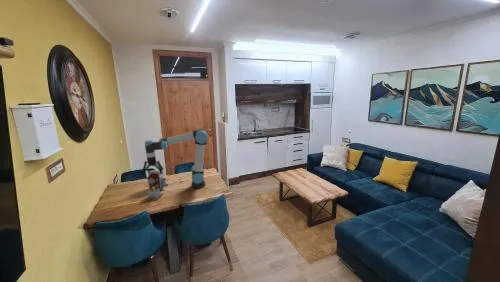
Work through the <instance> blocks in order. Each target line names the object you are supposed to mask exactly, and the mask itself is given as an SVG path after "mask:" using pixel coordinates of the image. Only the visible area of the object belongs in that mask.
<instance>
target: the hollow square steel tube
mask: <svg viewBox="0 0 500 282" xmlns="http://www.w3.org/2000/svg"><path fill="white" fill-rule="evenodd" d="M160 194H161V190H160V189H159V188H155V191H152V188H151V189H150V188H149V190H147V197H148V198H157V197H158V196H159V195H160Z"/></svg>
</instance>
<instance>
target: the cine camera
mask: <svg viewBox="0 0 500 282" xmlns="http://www.w3.org/2000/svg"><path fill="white" fill-rule="evenodd" d="M148 175H149V177H147V182H148V188H149V190H150V189H151V188H152V187H154V188H159V189H160V191H161V190H163V189H164V188H167V187H168V184H169V183H167V181H166V177H164V170H162V177H161V178H160V175H159V170H153V169H152V170H149V171H148Z"/></svg>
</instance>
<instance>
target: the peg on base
mask: <svg viewBox="0 0 500 282" xmlns="http://www.w3.org/2000/svg"><path fill="white" fill-rule="evenodd" d="M152 191H155V188H154V187H152ZM163 195H164V194H163V193H160V195H159V196H158V197H157V198H148V196H147V197H146V198H145V199H144V200H145V201H159V199H161V197H163Z"/></svg>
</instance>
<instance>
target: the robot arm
mask: <svg viewBox="0 0 500 282" xmlns="http://www.w3.org/2000/svg"><path fill="white" fill-rule="evenodd" d="M208 139H209V135H208V133H207V131H206V130H205V129H203V128H198V129H196V130H192V131H191V132H187V133H183V134H178V135H173V136H169V137H164V138H163V137H162V138H160V139H158V141H153V140H152V139H149V140H146V141H144V148H145V153H146V154H145V155H146V160H144V163H143V164H144V165H143V167H142V171H144V174H145V176H146V178H147V179H148V177H149V175H148V172H149V171H148V169H149V167H150V166H152V167H155V168H156V169H157V171H159V175H160V178H161V177H162V171H164V167H163V166H162V164H161V162H160V160H157V159H156V151H160V150H166V149H168V146H171V145H174V144H178V143H183V142H184V143H185V142H188V141H191V140H194V144H195V155H194V156H195V157H194V163H193V164H194V165H192V166H191V185H190V186H191V188H192V189H194V190H195V189H196V190H198V189H203V188H205V186H206V181H205V177H204V174H205V169H204V160H205V159H204V157H205V150H206V149H205V148H206V145H208Z"/></svg>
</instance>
